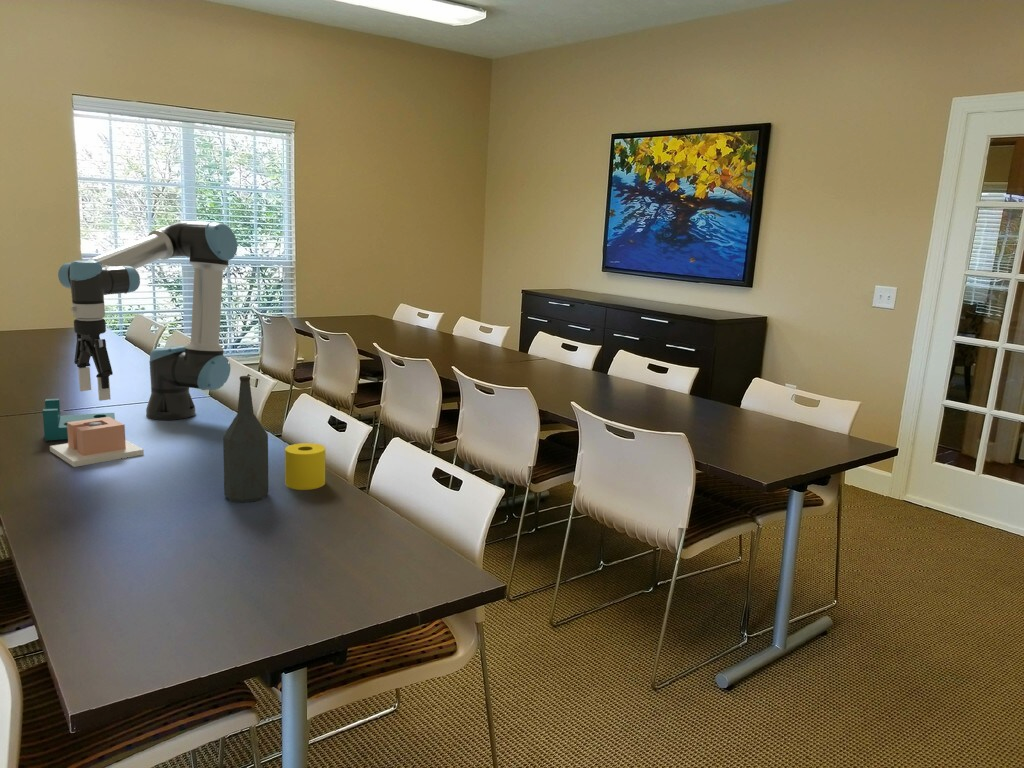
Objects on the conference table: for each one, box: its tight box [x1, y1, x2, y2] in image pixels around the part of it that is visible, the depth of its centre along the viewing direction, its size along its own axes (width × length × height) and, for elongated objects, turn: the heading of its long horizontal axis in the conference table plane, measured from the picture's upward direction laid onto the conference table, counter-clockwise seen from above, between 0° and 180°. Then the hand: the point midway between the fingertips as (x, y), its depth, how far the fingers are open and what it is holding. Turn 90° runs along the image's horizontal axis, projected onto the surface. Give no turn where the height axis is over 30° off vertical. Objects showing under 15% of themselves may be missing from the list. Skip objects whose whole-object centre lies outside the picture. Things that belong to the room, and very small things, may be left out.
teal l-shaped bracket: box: [42, 398, 116, 441], centre depth 228 cm, size 18×11×10 cm, turn 117°
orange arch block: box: [67, 417, 126, 456], centre depth 213 cm, size 11×11×7 cm
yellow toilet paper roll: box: [284, 442, 326, 491], centre depth 198 cm, size 10×10×9 cm
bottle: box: [222, 375, 269, 503], centre depth 185 cm, size 10×10×30 cm
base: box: [49, 422, 145, 468], centre depth 213 cm, size 18×18×8 cm
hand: (95, 395), depth 211 cm, fingers open, 13 cm apart
